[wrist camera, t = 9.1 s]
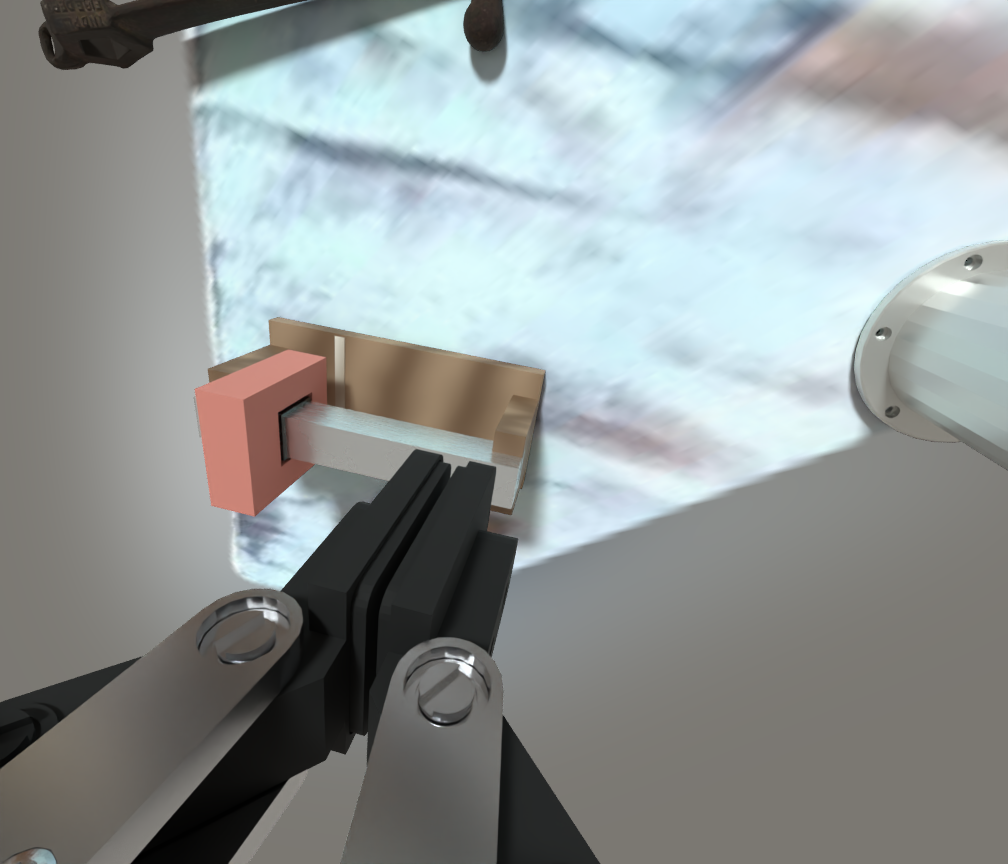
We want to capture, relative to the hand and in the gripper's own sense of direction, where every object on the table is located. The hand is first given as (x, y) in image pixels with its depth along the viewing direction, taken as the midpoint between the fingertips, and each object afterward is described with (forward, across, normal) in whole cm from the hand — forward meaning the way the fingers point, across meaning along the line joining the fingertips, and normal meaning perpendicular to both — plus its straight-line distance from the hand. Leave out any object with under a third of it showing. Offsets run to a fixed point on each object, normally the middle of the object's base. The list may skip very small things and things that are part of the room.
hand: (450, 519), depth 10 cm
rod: (+21, +11, +10) cm, 26 cm away
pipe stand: (+27, +11, +10) cm, 31 cm away
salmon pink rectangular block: (+23, +17, +10) cm, 30 cm away
